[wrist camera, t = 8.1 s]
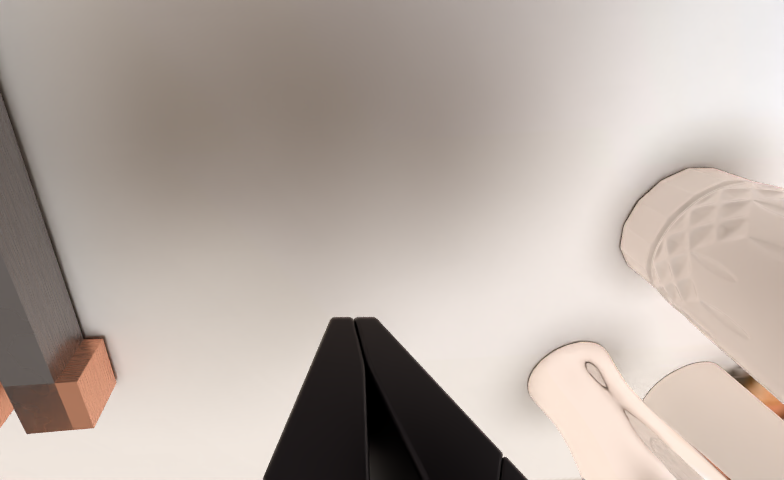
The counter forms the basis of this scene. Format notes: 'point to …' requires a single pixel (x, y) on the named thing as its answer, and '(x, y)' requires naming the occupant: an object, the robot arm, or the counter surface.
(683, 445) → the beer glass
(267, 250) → the counter surface
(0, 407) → the base
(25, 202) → the bar
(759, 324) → the white cup
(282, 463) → the robot arm
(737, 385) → the beige tall box
